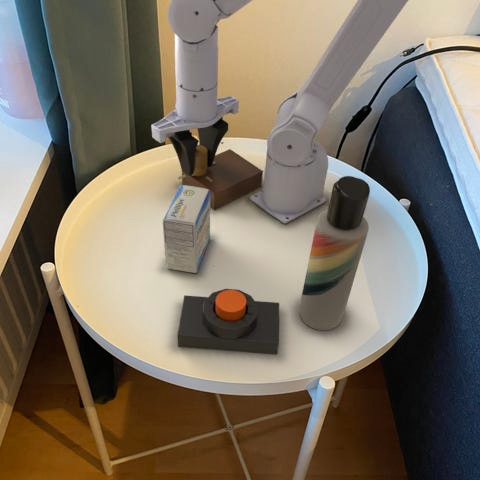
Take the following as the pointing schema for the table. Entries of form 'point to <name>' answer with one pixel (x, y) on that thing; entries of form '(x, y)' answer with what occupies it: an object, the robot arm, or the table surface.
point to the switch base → (229, 326)
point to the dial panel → (226, 178)
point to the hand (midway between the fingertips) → (197, 167)
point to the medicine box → (187, 228)
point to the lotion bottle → (335, 254)
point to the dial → (200, 161)
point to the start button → (230, 305)
